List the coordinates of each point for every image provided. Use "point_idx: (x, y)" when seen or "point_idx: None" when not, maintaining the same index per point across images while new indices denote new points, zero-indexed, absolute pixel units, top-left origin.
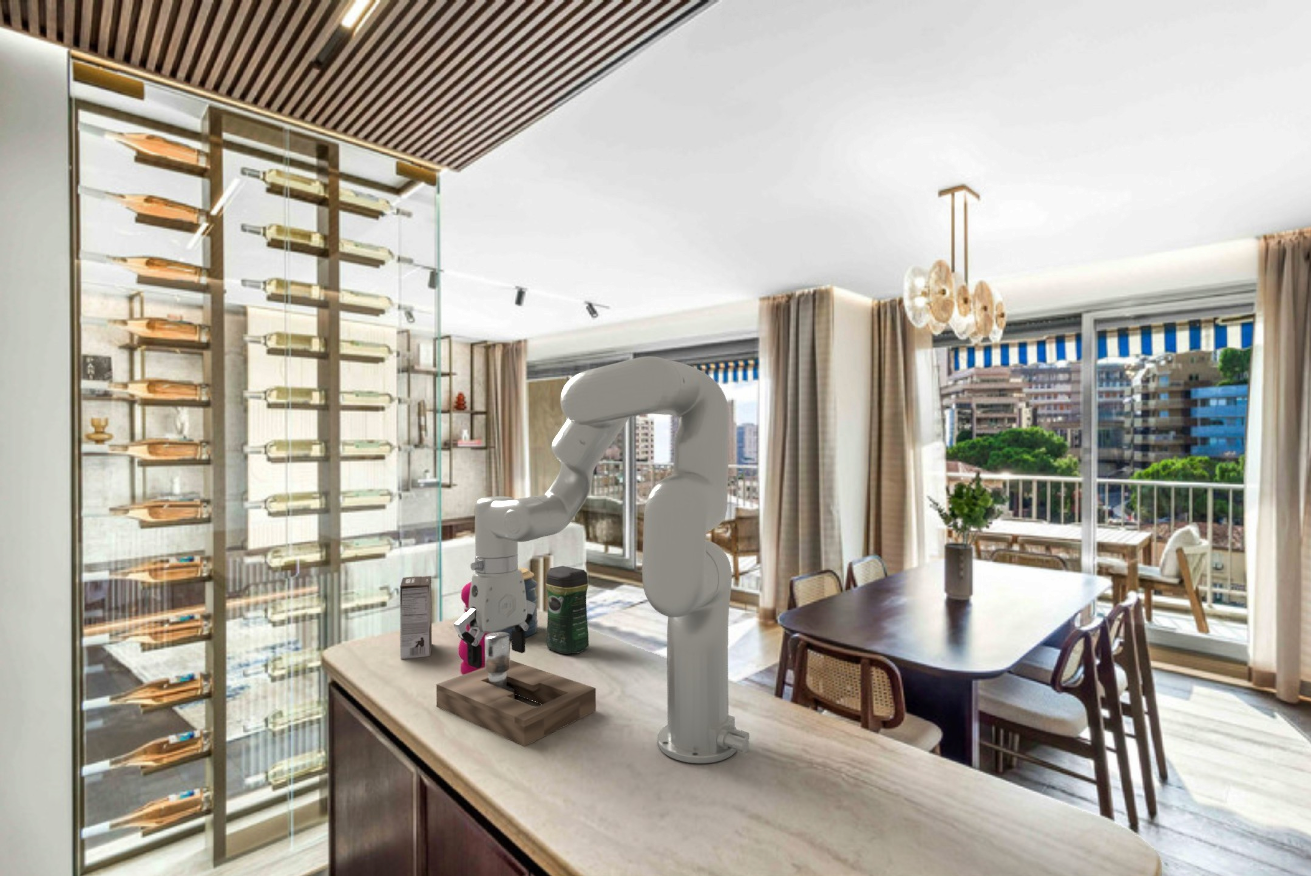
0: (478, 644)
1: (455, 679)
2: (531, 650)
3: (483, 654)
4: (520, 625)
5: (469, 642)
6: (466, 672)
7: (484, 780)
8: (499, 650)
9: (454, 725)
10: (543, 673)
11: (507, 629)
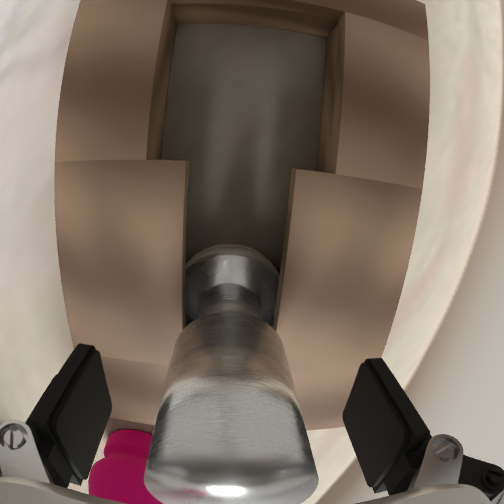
0: (406, 451)
1: (304, 421)
2: (10, 416)
3: (135, 468)
4: (43, 471)
5: (463, 455)
6: None
7: (493, 43)
8: (273, 393)
9: None
10: (72, 227)
11: None
